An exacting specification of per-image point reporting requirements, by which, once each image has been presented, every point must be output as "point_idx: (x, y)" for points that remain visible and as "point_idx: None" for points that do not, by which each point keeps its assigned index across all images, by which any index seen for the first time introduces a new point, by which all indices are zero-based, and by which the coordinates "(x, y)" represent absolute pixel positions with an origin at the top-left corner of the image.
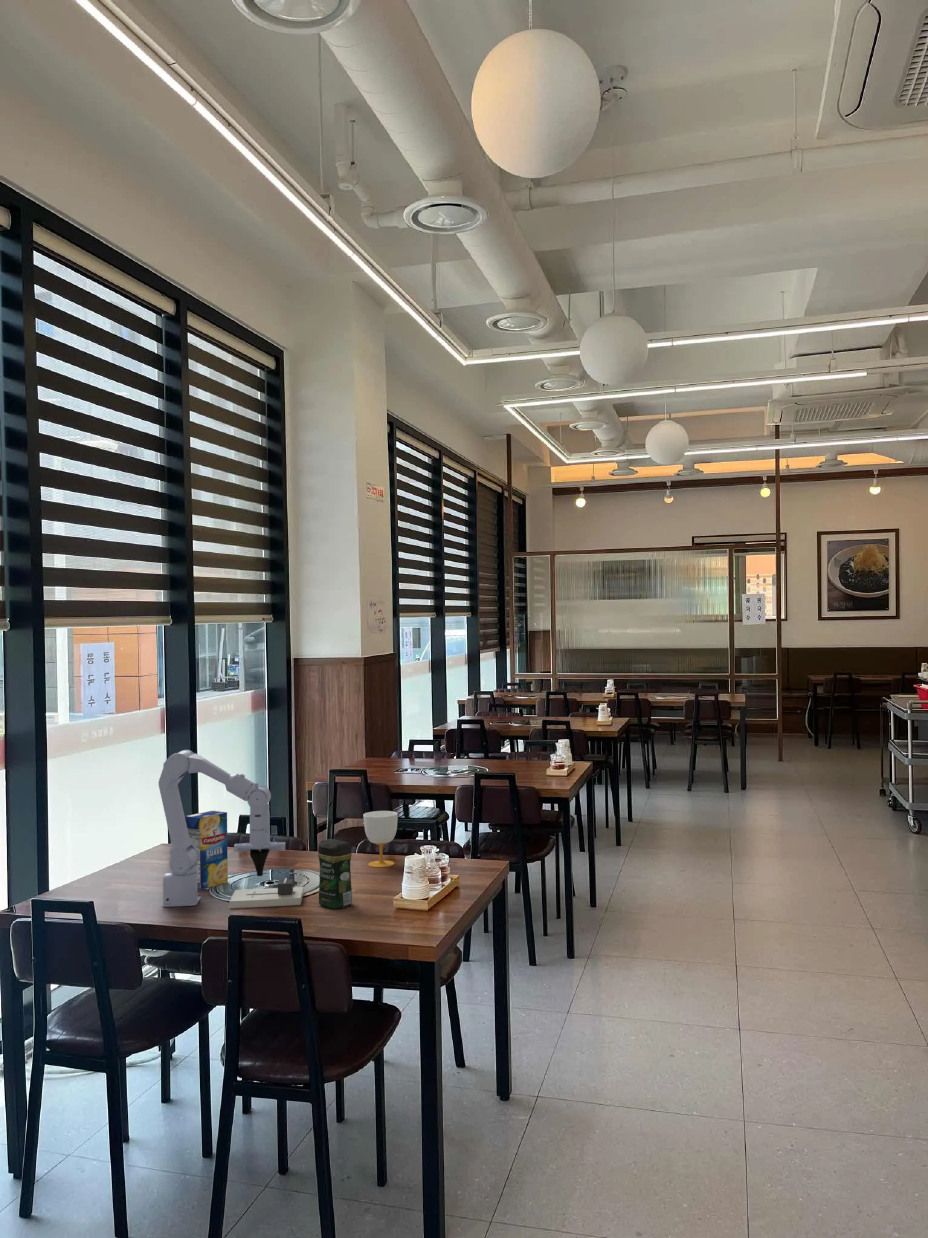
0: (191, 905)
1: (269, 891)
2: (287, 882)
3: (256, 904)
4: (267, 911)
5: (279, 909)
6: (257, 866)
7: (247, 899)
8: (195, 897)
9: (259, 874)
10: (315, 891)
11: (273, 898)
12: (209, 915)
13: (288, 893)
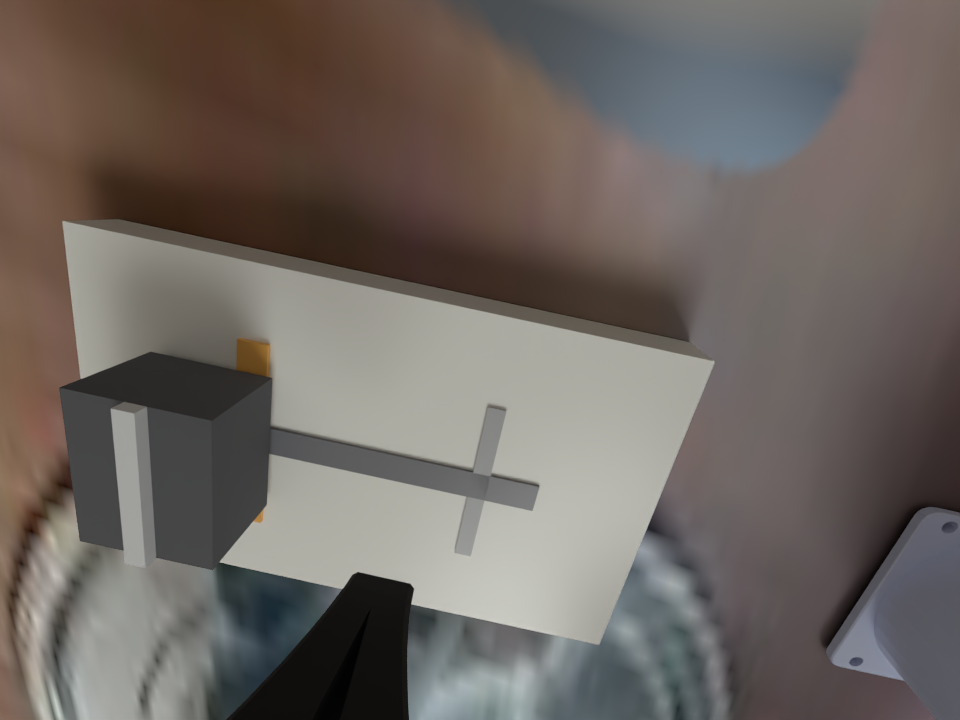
0: (958, 513)
1: (348, 516)
2: (111, 447)
3: (472, 299)
4: (389, 124)
5: (286, 151)
6: (364, 713)
7: (546, 356)
8: (939, 597)
9: (376, 593)
10: (67, 521)
11: (311, 297)
12: (910, 196)
13: (173, 358)
